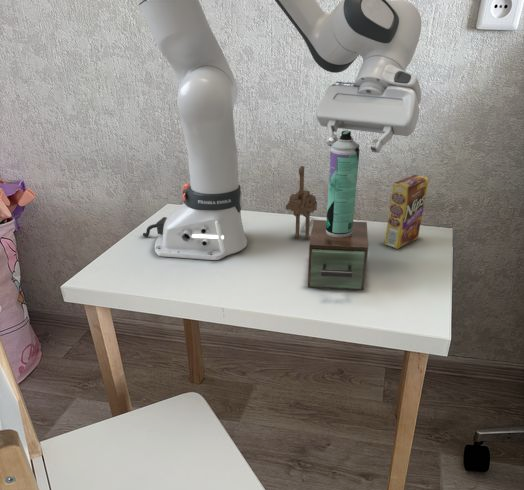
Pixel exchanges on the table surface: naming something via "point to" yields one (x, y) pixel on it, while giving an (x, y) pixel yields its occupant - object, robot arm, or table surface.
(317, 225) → the cabinet
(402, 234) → the candy box
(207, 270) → the table surface
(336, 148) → the spray can
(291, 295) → the table surface
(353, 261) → the cabinet drawer
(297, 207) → the ostrich figurine
